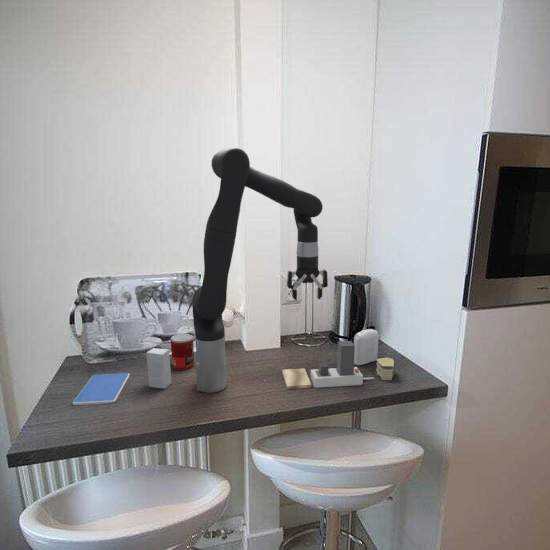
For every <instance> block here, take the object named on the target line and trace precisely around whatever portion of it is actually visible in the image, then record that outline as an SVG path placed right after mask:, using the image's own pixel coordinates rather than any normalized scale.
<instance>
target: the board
mask: <svg viewBox="0 0 550 550" xmlns="http://www.w3.org/2000/svg"><path fill="white" fill-rule="evenodd" d="M281 372H282V377H283V380H284V384H285V386H286V389H287V390H291V389H292V390H293V389H309V388H312V386H313V383H312V381H311V379H310V377H309V375H308V373H307V371H306V369H305V368H292V369H291V368H288V369H282V370H281Z"/></svg>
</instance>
